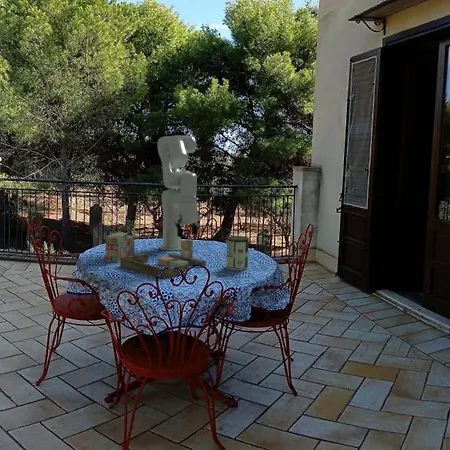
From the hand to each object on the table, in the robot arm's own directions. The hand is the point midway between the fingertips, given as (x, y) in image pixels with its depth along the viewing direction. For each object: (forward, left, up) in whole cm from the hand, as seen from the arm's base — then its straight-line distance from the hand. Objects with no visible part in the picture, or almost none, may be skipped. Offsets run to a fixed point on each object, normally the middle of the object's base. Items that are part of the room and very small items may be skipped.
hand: (187, 235), depth 236 cm
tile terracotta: (+9, -5, -14) cm, 17 cm away
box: (+20, -1, -13) cm, 24 cm away
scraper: (0, -1, -13) cm, 13 cm away
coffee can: (-11, +21, -13) cm, 28 cm away
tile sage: (+9, +3, -14) cm, 16 cm away
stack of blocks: (+16, -29, -14) cm, 36 cm away
